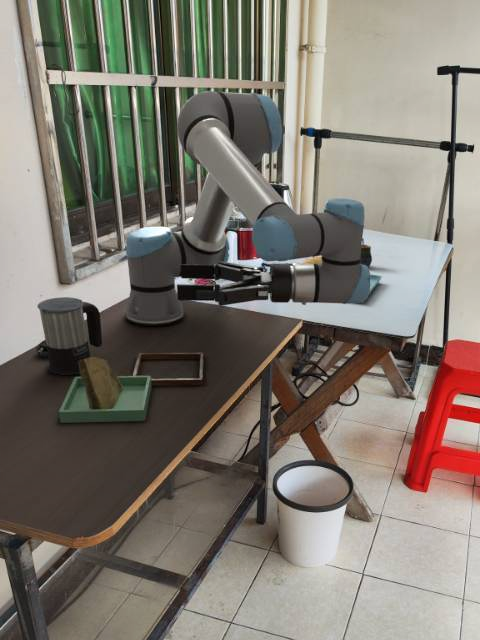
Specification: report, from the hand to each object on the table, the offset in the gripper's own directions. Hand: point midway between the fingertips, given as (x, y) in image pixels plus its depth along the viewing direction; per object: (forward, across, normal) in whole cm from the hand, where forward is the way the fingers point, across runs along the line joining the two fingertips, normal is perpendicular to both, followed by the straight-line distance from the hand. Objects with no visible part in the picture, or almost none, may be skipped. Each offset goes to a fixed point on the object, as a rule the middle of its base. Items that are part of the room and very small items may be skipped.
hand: (179, 281), depth 111 cm
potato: (-40, +85, -25) cm, 97 cm away
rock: (+15, -3, -24) cm, 28 cm away
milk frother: (+28, +18, -25) cm, 41 cm away
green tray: (+15, -3, -24) cm, 29 cm away
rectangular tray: (-54, +74, -25) cm, 95 cm away
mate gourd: (-61, +104, -25) cm, 123 cm away
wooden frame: (+4, +12, -24) cm, 28 cm away
